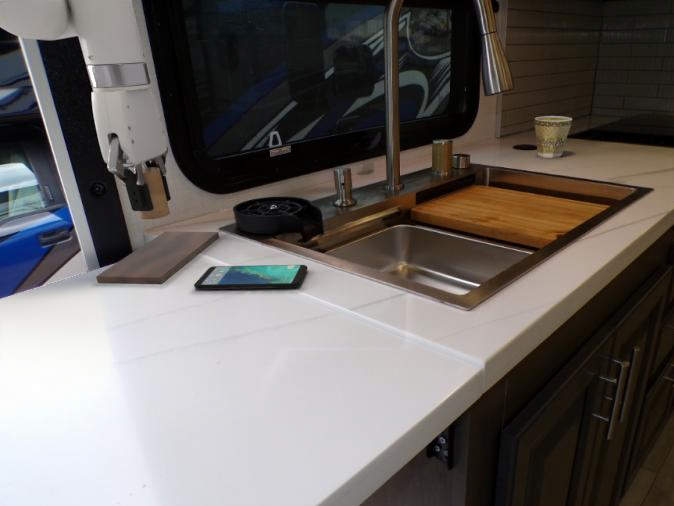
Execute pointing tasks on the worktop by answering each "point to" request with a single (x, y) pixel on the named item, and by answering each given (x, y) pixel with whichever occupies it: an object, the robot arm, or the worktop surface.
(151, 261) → the walnut board
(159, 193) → the wooden cylinder
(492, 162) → the worktop surface
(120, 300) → the worktop surface
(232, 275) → the smartphone
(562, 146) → the ceramic cup
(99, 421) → the worktop surface
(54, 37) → the robot arm
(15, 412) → the worktop surface
